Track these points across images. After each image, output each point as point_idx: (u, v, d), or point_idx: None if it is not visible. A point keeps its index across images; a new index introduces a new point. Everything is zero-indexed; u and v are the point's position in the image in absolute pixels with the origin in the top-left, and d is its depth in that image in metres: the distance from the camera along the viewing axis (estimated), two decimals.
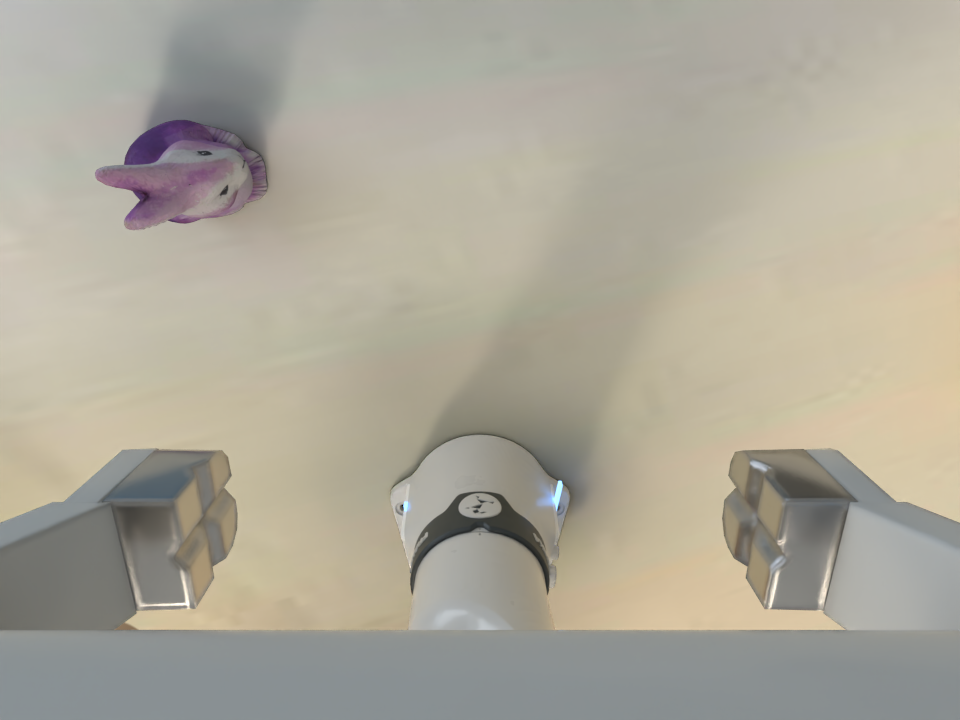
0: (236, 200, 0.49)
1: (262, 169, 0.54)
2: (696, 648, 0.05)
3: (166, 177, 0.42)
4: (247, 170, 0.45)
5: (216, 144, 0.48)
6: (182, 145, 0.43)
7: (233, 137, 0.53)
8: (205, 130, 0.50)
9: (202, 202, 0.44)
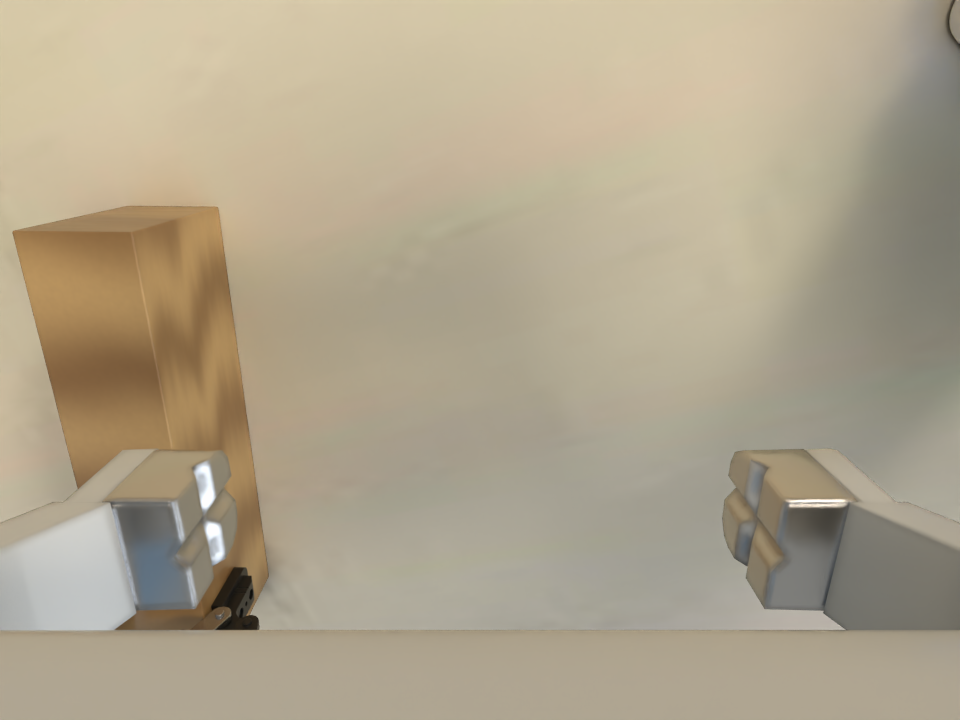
0: None
1: None
2: (696, 648, 0.05)
3: None
4: None
5: None
6: None
7: None
8: None
9: None
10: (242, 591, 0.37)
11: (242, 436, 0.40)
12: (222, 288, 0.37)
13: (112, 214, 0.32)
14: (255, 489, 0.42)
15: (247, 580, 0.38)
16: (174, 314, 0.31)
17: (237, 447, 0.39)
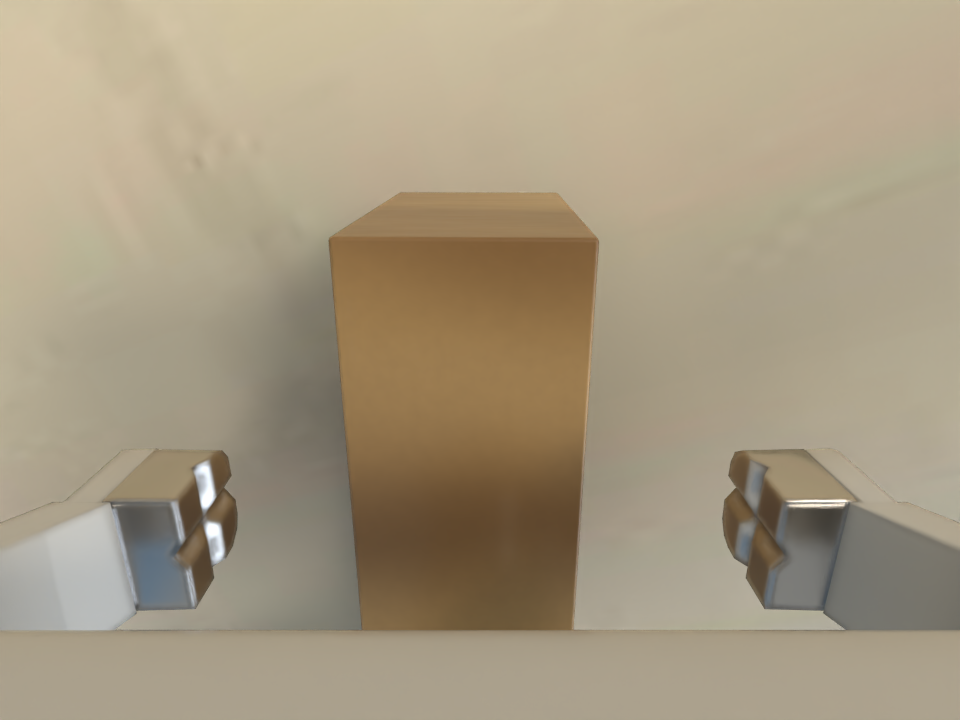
0: None
1: None
2: (696, 648, 0.05)
3: None
4: None
5: None
6: None
7: None
8: None
9: None
10: None
11: None
12: None
13: (425, 204, 0.17)
14: None
15: None
16: None
17: None
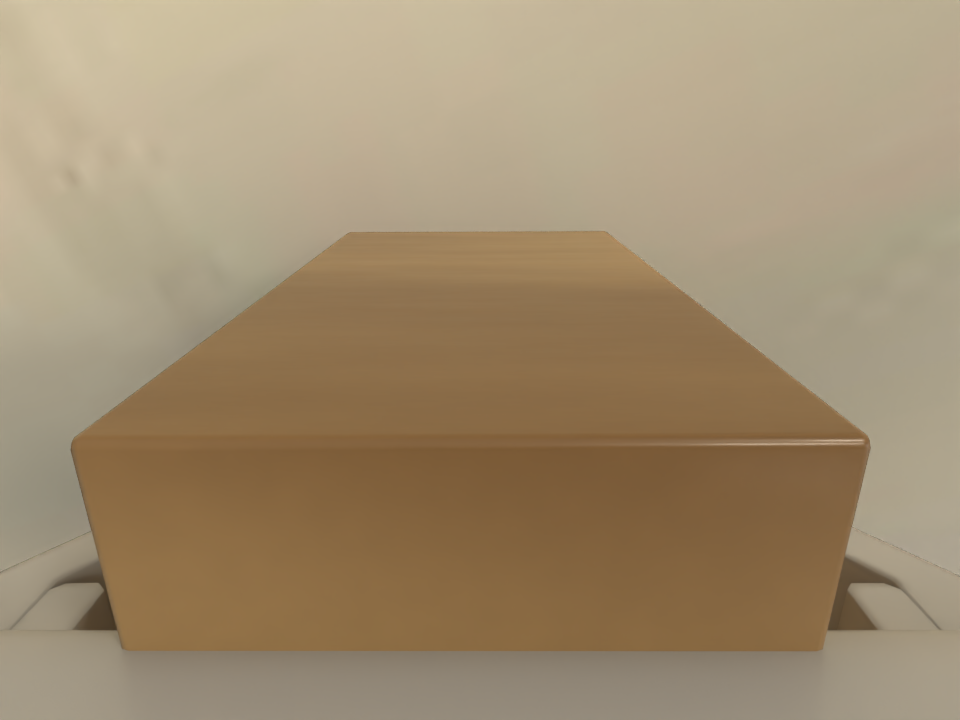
0: None
1: None
2: None
3: None
4: None
5: None
6: None
7: None
8: None
9: None
10: None
11: None
12: None
13: (384, 268, 0.09)
14: None
15: None
16: None
17: None
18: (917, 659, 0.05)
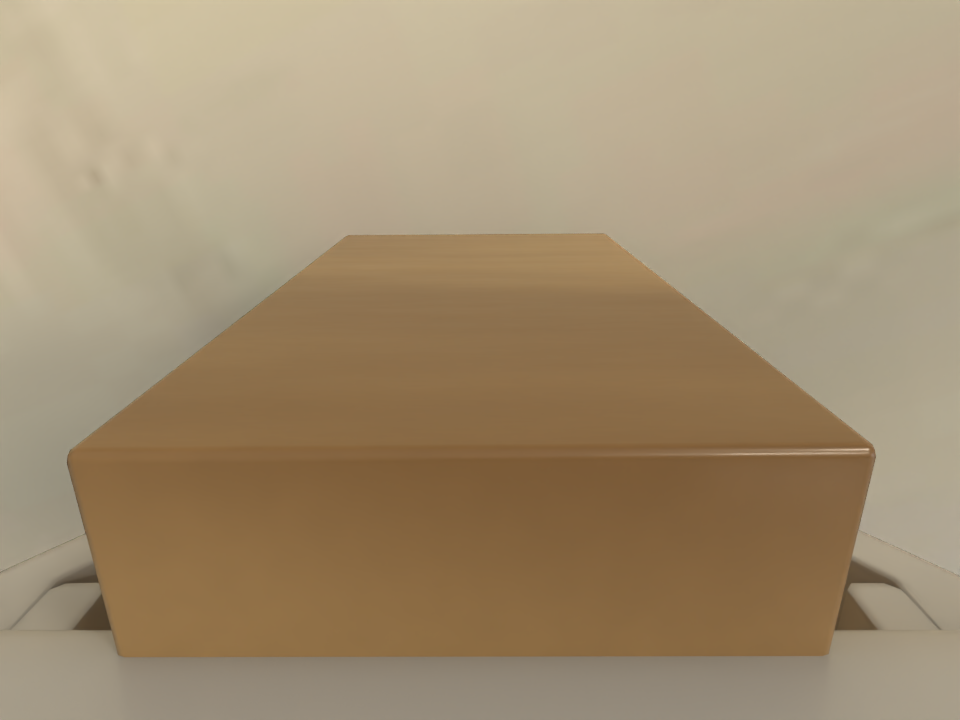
0: None
1: None
2: None
3: None
4: None
5: None
6: None
7: None
8: None
9: None
10: None
11: None
12: None
13: (383, 272, 0.09)
14: None
15: None
16: None
17: None
18: (917, 659, 0.05)
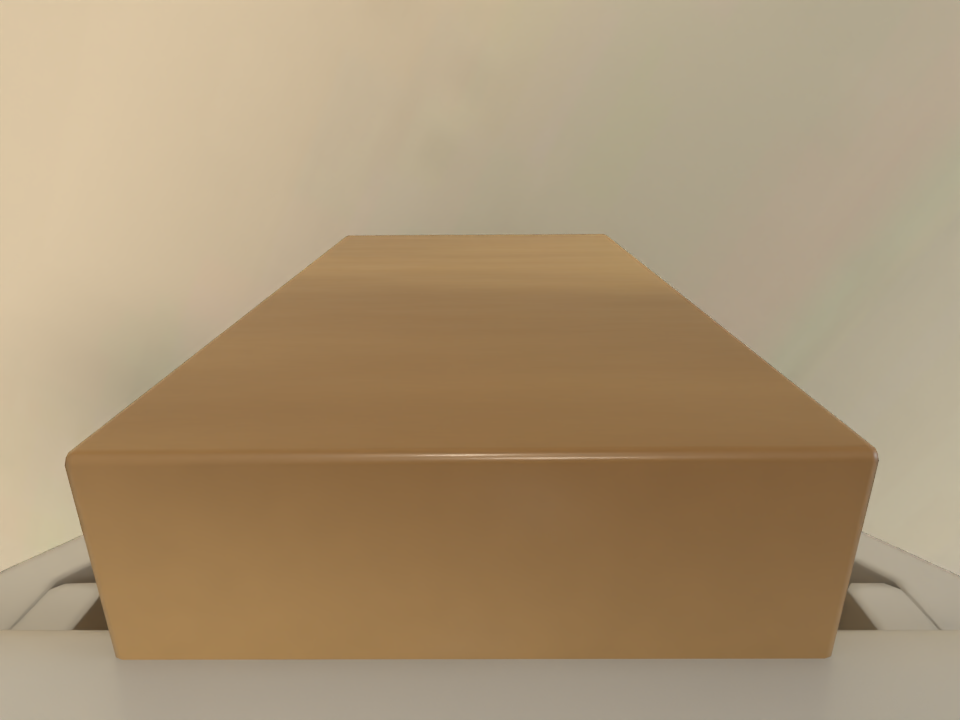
0: None
1: None
2: None
3: None
4: None
5: None
6: None
7: None
8: None
9: None
10: None
11: None
12: None
13: (383, 272, 0.09)
14: None
15: None
16: None
17: None
18: (917, 659, 0.05)
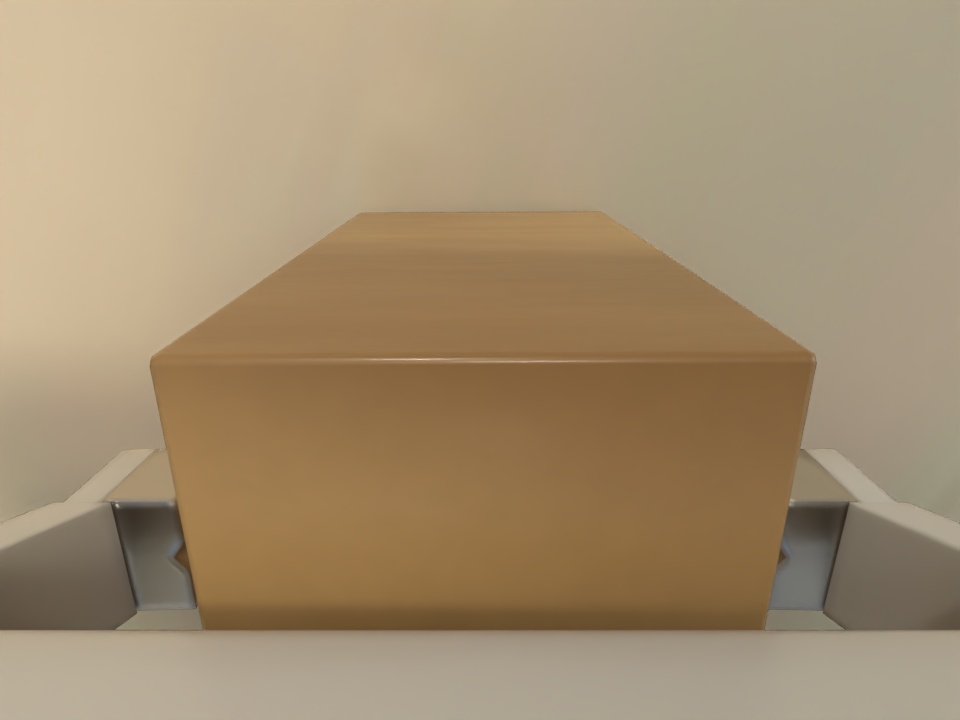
0: None
1: None
2: (696, 648, 0.05)
3: None
4: None
5: None
6: None
7: None
8: None
9: None
10: None
11: None
12: None
13: (397, 240, 0.10)
14: None
15: None
16: None
17: None
18: (917, 659, 0.05)
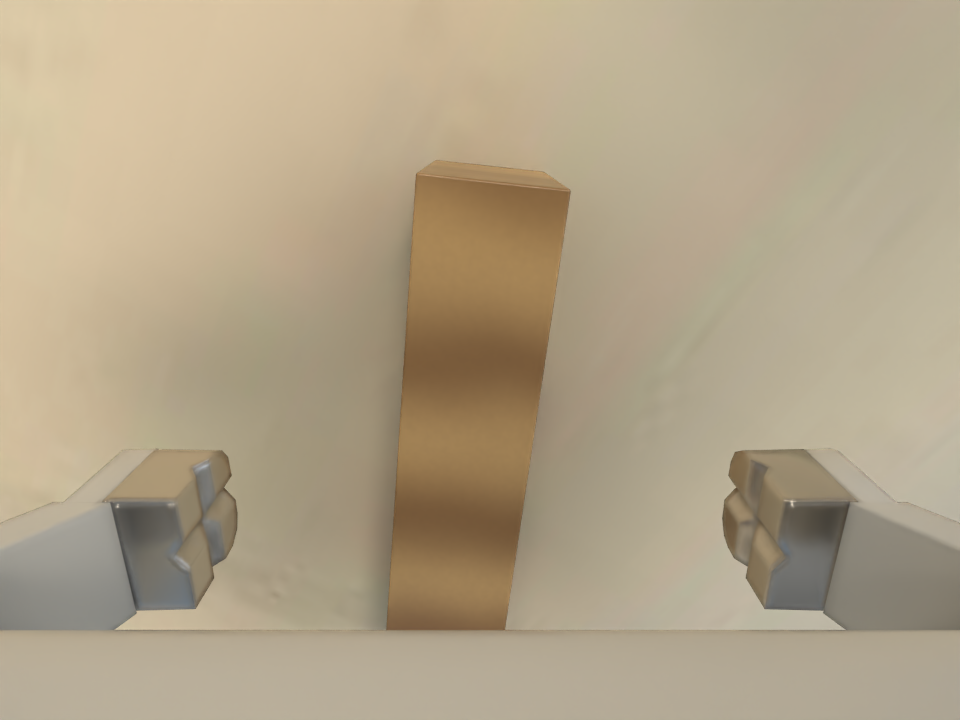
0: None
1: None
2: (696, 648, 0.05)
3: None
4: None
5: None
6: None
7: None
8: None
9: None
10: None
11: None
12: None
13: (459, 167, 0.26)
14: None
15: None
16: None
17: None
18: (917, 659, 0.05)
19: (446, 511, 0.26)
